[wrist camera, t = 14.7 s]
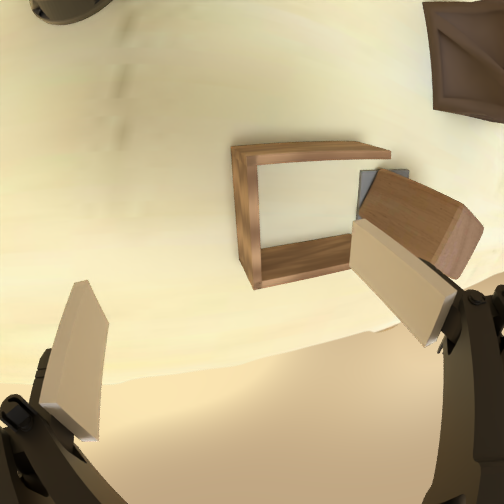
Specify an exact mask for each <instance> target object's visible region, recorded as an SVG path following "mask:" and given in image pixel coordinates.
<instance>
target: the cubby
mask: <svg viewBox="0 0 504 504" xmlns="http://www.w3.org/2000/svg"><path fill="white" fill-rule="evenodd" d="M231 157H232V171H233V185H234V199H235V212H236V225H237V238H238V251H239V260H240V262H241V264H242V266H243V268H244V271H245V273H246V275H247V277H248V279H249V281H250V283H251V285H252V287H253V290H256V289H261V288H266V287H271V286H276V285H281V284H285V283H290V282H295V281H299V280H304V279H309V278H313V277H318V276H322V275H327V274H331V273H335V272H340V271H344V270H348V269H351V268H350V267H349V261H350V251H351V239H352V235H351V234H346V235H340V236H334V237H328V238H322V239H316V240H311V241H305V242H299V243H293V244H287V245H281V246H276V247H270V248H264V249H260V224H259V200H258V177H257V165H265V164H276V163H289V162H304V161H322V160H350V159H391V151H389V150H386V149H382V148H379V147H375V146H372V145H368V144H364V143H361V142H357V141H315V142H287V143H269V144H255V145H244V146H233V147H231Z"/></svg>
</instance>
